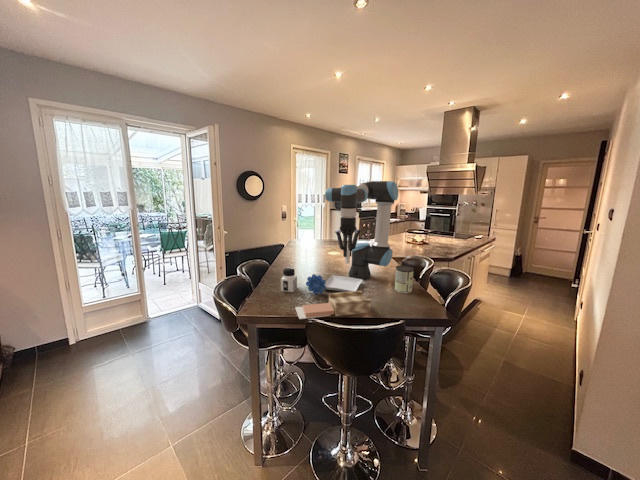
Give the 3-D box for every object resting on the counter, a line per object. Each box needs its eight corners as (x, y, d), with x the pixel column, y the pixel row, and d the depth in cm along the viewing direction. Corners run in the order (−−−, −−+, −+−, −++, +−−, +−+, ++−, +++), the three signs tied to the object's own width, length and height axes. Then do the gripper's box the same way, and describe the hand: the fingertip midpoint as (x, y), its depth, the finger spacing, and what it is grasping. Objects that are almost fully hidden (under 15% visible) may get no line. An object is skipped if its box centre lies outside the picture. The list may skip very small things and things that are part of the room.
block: (329, 306, 134) (329, 302, 134) (334, 314, 126) (334, 310, 126) (302, 308, 131) (302, 305, 131) (305, 317, 123) (305, 313, 123)
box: (360, 302, 141) (361, 290, 140) (370, 312, 130) (371, 299, 128) (328, 305, 136) (328, 293, 135) (335, 316, 125) (336, 303, 124)
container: (293, 292, 152) (293, 271, 150) (280, 291, 154) (280, 270, 151) (297, 287, 160) (297, 267, 157) (285, 286, 161) (284, 266, 159)
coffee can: (395, 285, 165) (397, 264, 162) (412, 288, 161) (414, 266, 158) (392, 291, 156) (394, 268, 153) (411, 294, 152) (413, 271, 149)
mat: (323, 305, 137) (323, 304, 137) (330, 315, 125) (330, 315, 125) (295, 308, 133) (295, 307, 133) (299, 319, 122) (299, 318, 122)
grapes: (306, 297, 146) (306, 277, 143) (305, 292, 152) (305, 273, 150) (327, 296, 148) (327, 276, 145) (325, 291, 154) (325, 272, 152)
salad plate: (355, 296, 149) (356, 290, 148) (320, 290, 156) (320, 285, 156) (363, 284, 168) (363, 278, 168) (331, 279, 176) (331, 274, 175)
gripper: (357, 215, 134) (356, 259, 139) (333, 216, 130) (332, 261, 135) (363, 217, 126) (362, 263, 132) (338, 218, 123) (337, 266, 128)
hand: (347, 262), depth 134 cm, fingers closed
